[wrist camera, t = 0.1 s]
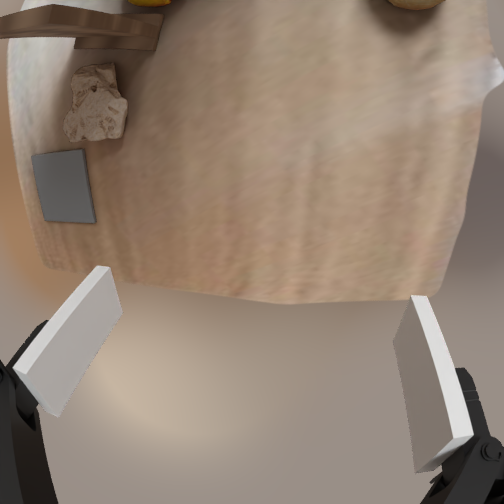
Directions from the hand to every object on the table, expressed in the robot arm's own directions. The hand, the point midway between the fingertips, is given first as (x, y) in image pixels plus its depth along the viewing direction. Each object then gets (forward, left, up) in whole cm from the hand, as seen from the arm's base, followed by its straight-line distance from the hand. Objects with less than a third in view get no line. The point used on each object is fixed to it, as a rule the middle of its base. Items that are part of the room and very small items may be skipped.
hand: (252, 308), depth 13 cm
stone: (-7, -25, -28) cm, 39 cm away
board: (-18, -22, -28) cm, 40 cm away
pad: (+5, -35, -28) cm, 45 cm away
